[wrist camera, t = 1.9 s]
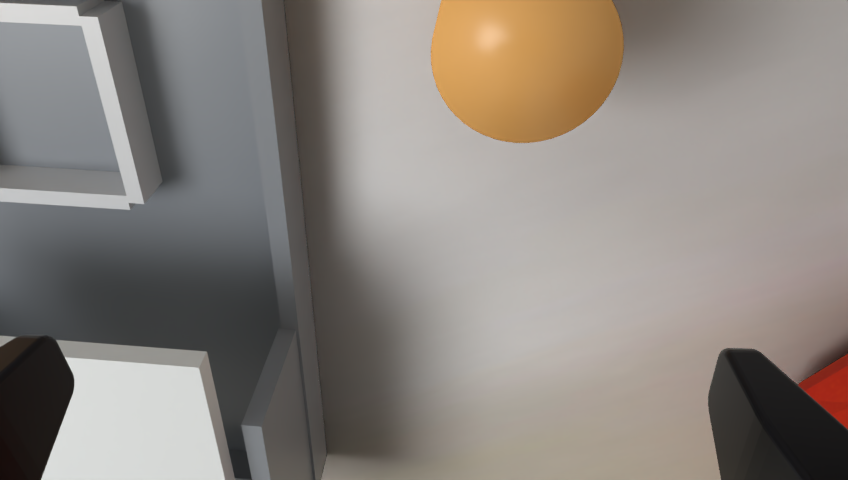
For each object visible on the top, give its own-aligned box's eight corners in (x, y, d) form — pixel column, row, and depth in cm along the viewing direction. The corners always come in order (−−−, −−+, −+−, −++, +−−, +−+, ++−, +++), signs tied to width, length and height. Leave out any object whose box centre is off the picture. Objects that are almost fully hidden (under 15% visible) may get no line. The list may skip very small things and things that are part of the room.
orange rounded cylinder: (607, -86, 17) (641, -40, 13) (583, 67, 20) (605, 147, 15) (448, -92, 18) (433, -48, 13) (442, 60, 20) (428, 138, 16)
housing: (254, -305, 15) (134, -340, 10) (327, 454, 30) (292, 593, 25) (-367, -316, 16) (-760, -353, 11) (1, 426, 31) (-95, 555, 26)
